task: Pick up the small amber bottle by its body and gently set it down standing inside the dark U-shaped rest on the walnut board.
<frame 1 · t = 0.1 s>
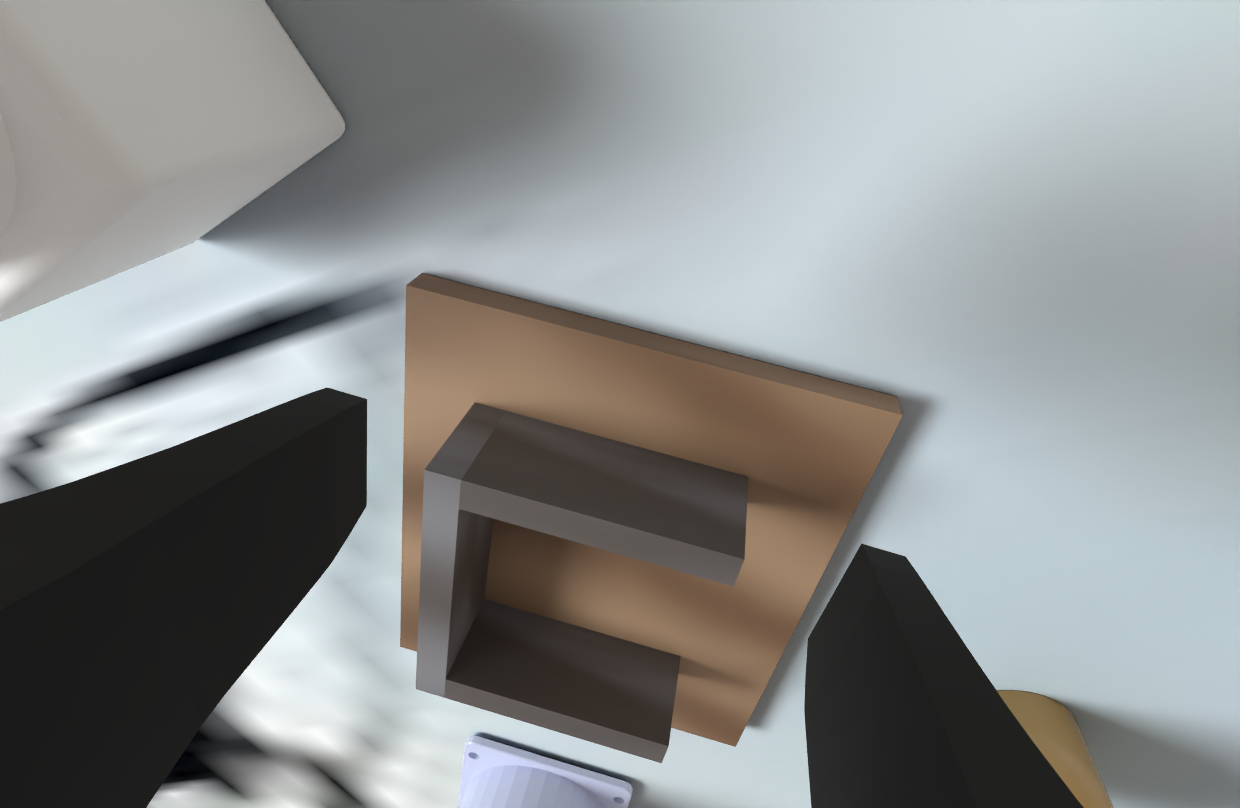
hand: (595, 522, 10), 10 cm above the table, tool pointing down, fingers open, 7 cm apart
bottle rest: (605, 535, 23), on the table
medicine bottle: (184, 68, 18), on the table
amber bottle: (1006, 731, 24), on the table
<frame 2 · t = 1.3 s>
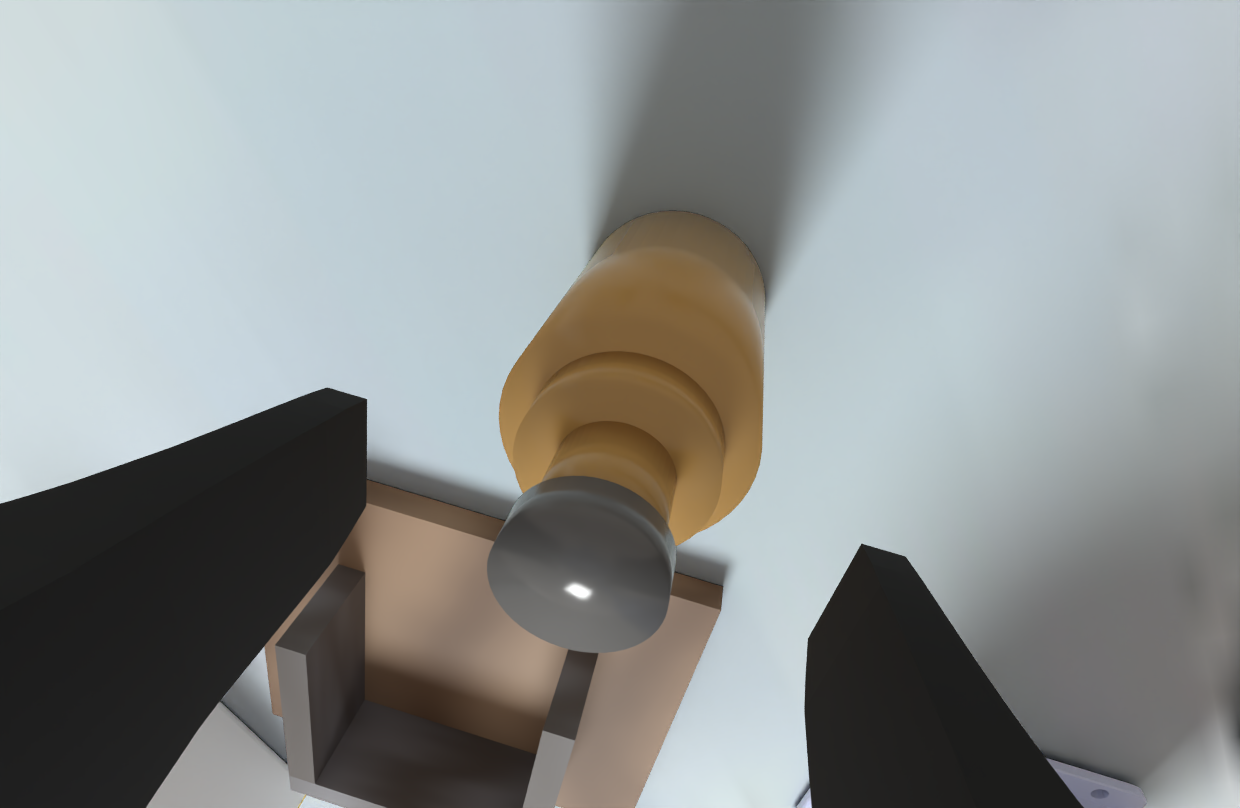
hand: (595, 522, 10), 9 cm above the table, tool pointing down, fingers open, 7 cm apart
bottle rest: (469, 649, 26), on the table
medicine bottle: (224, 747, 34), on the table
amber bottle: (673, 301, 17), on the table
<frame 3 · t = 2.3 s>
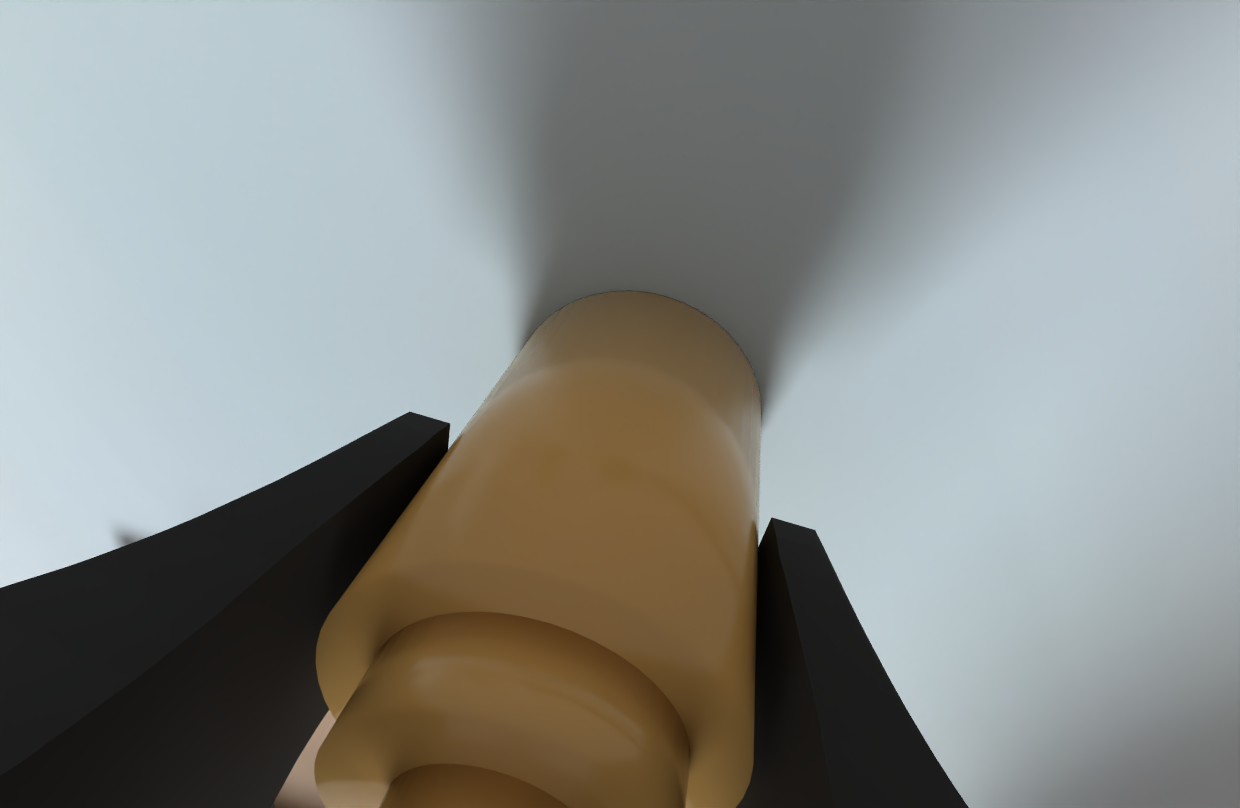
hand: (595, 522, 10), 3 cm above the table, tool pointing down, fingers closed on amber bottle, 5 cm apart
bottle rest: (402, 787, 21), on the table
amber bottle: (634, 408, 12), on the table, touching gripper
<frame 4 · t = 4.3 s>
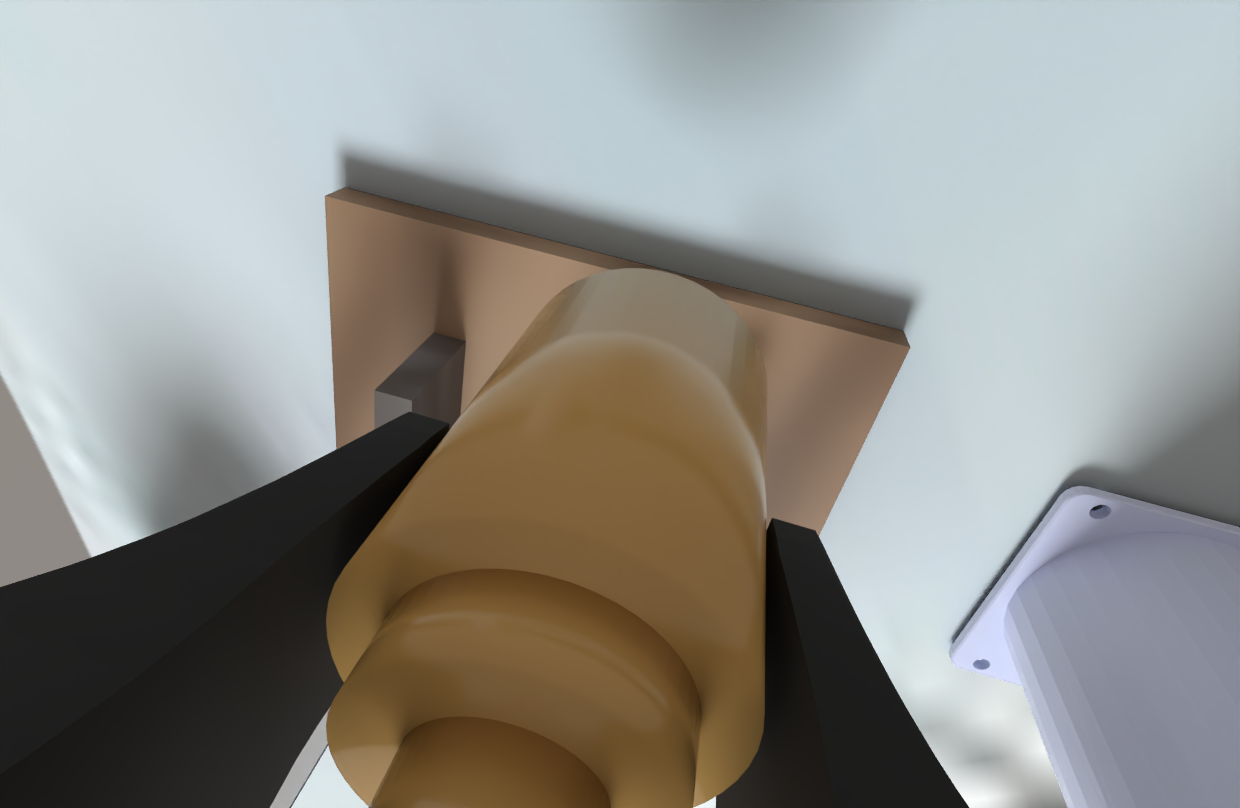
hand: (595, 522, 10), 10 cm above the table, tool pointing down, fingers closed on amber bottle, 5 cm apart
bottle rest: (577, 456, 22), on the table
medicine bottle: (279, 622, 31), on the table
amber bottle: (640, 388, 12), point 7 cm above the table, touching gripper
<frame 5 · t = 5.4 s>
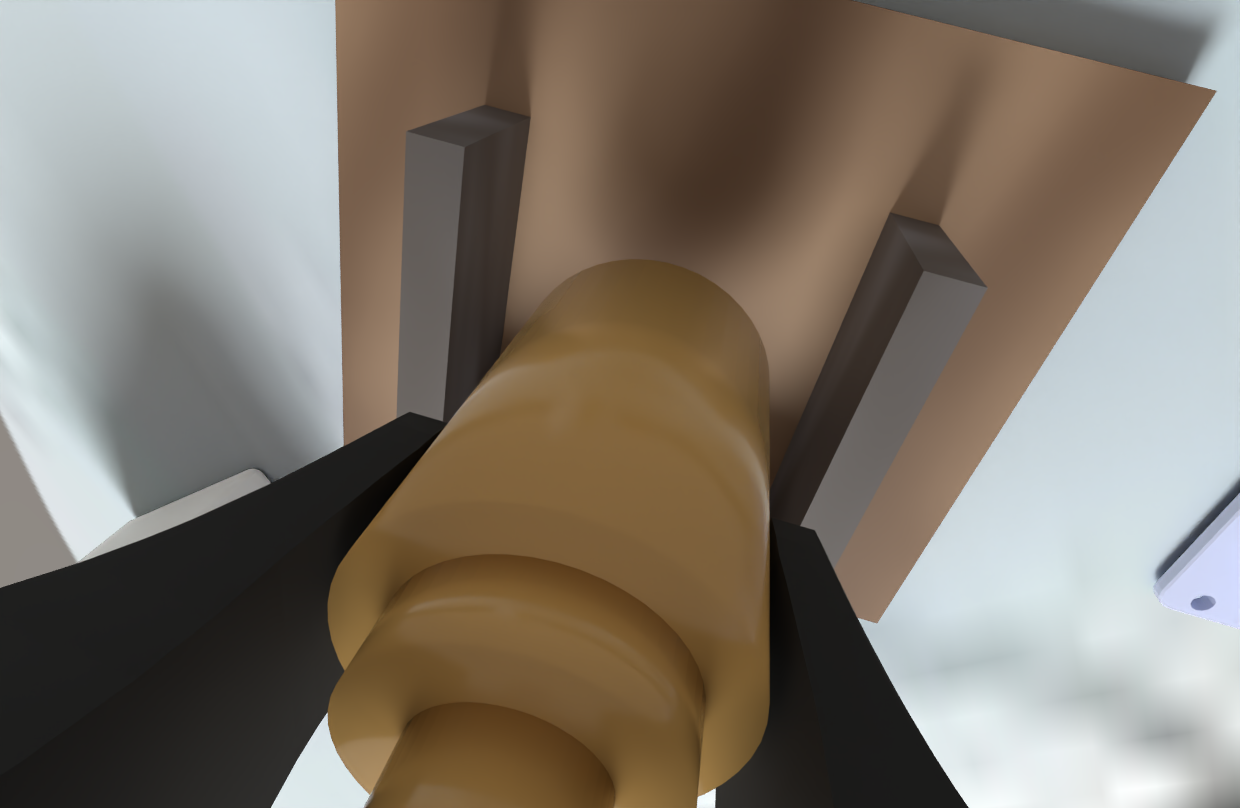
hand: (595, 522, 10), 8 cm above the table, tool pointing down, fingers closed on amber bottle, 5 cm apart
bottle rest: (668, 311, 16), on the table
medicine bottle: (263, 560, 25), on the table
amber bottle: (641, 380, 12), point 4 cm above the table, touching gripper
when the fingers open (6 cm above the table, at t = 6.4 s): amber bottle drops 1 cm, resting on bottle rest.
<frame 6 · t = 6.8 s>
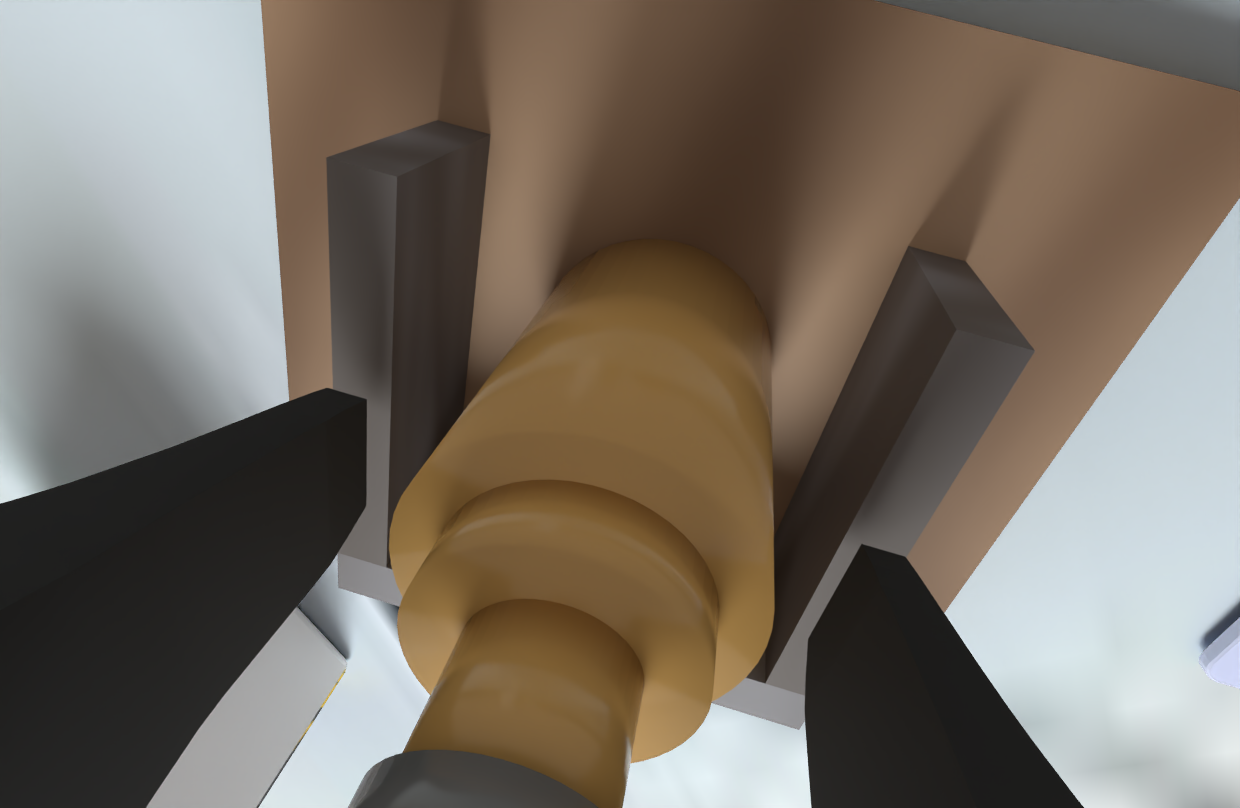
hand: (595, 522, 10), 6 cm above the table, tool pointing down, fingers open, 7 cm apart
bottle rest: (653, 350, 14), on the table
medicine bottle: (220, 606, 23), on the table
amber bottle: (653, 352, 13), point 1 cm above the table, touching bottle rest
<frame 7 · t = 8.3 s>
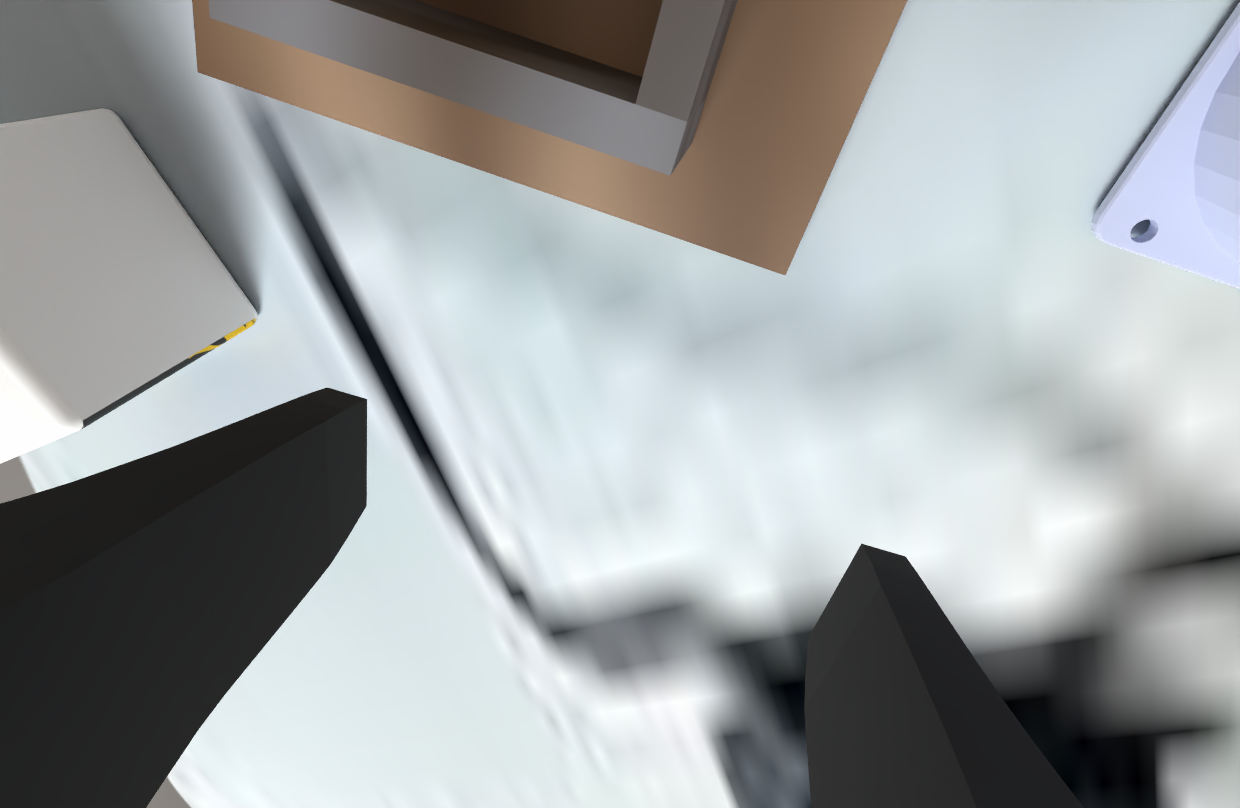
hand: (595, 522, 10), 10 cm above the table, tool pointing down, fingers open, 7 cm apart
medicine bottle: (131, 254, 22), on the table
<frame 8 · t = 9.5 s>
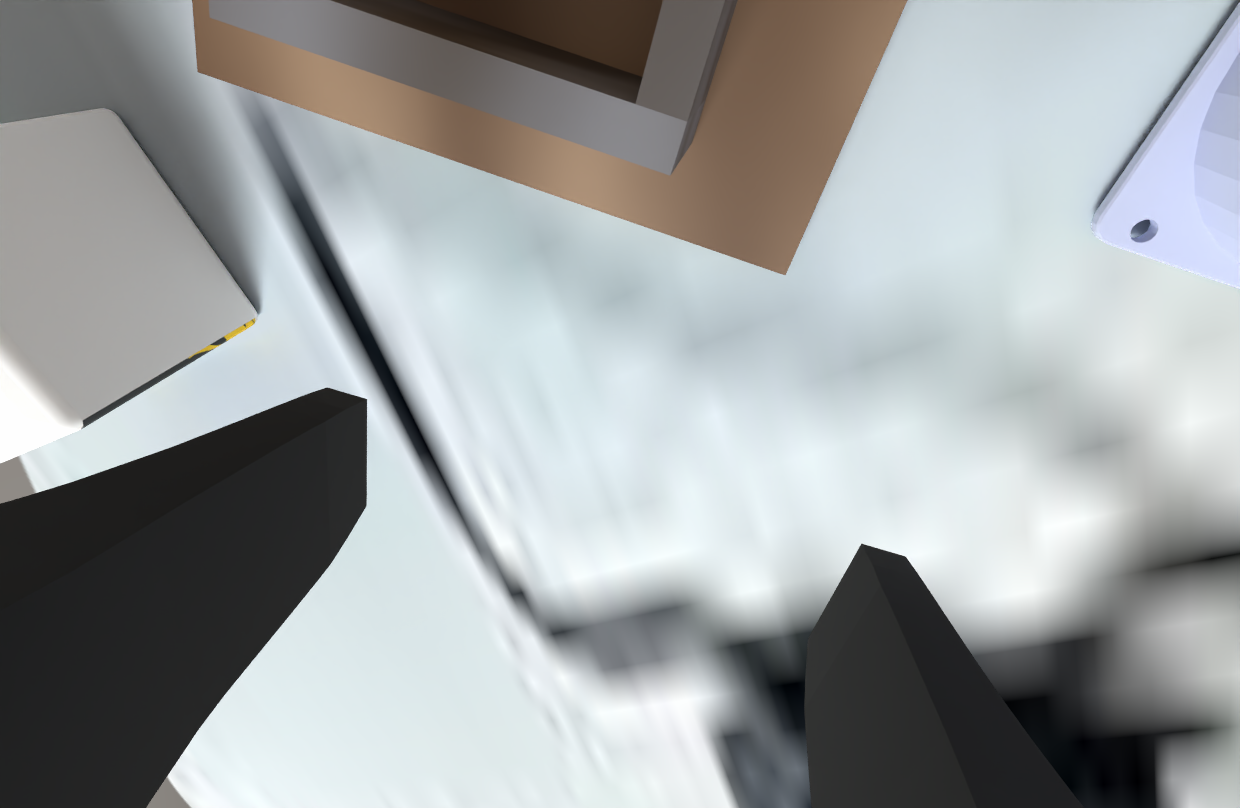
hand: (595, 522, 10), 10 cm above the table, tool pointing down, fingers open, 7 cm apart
medicine bottle: (131, 254, 22), on the table
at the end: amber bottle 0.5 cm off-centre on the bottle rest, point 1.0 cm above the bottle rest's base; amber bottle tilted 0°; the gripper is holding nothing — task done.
